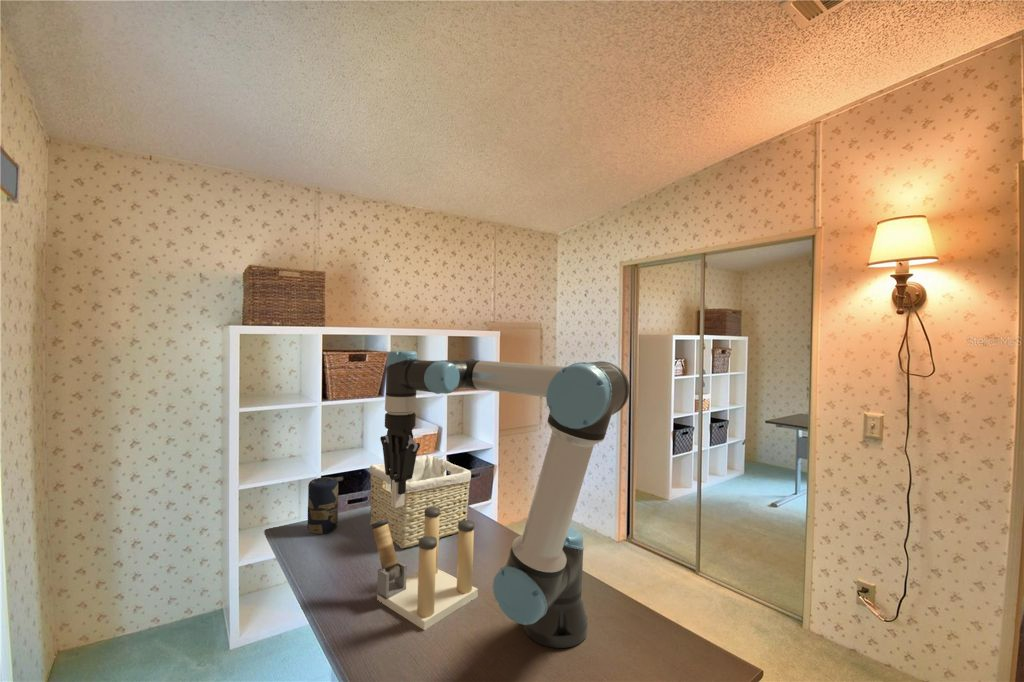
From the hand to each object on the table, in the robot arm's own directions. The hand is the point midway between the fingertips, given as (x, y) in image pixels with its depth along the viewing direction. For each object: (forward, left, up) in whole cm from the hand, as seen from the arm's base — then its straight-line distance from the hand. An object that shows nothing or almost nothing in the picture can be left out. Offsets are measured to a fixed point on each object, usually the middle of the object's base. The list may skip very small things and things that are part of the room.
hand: (397, 505), depth 115 cm
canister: (+52, -10, -25) cm, 58 cm away
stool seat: (-5, -7, -24) cm, 26 cm away
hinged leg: (+6, 0, -14) cm, 15 cm away
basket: (+30, -33, -25) cm, 51 cm away
